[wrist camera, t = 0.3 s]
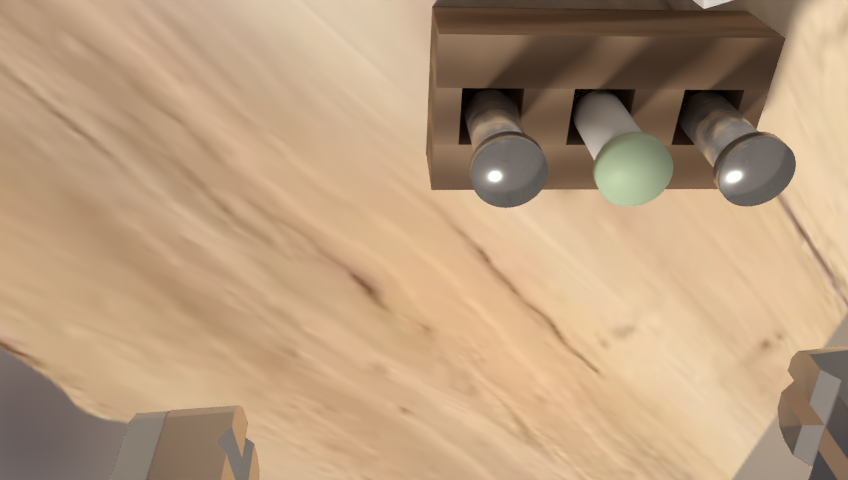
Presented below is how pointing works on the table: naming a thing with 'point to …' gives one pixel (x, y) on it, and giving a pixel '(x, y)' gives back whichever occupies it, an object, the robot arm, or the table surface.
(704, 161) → the block
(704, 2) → the skincare box
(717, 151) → the plug
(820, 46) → the table surface
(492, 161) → the plug
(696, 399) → the table surface
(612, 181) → the plug mid
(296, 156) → the table surface
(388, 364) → the table surface
